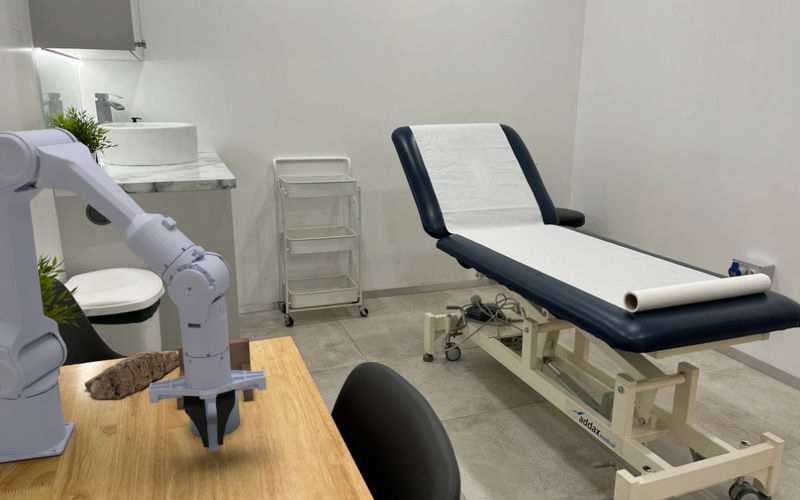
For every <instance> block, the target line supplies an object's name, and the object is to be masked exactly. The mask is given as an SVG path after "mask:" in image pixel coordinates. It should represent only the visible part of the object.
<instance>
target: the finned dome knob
mask: <svg viewBox="0 0 800 500" xmlns="http://www.w3.org/2000/svg"><path fill="white" fill-rule="evenodd" d="M235 398H236V401H235V404H234V407H233V409H232V411H231V413H230V416H229V418H228V421H227V424H226V428H225V432H224V436H225V435H228V434H230V433H232V432H234V431H235V430H236V429H237V428H239V425H240V423H241V418H240V417H241V416H240V402H239V391H235ZM205 405H206V417H207V430H208V439H209V447H208V452H210V453H211V452H218V451H219V449H220V447H219V446H220V445H218V441H217V437H218V422H217V412H216V397H215V398H209V399H205ZM189 421H190V431H191V432H192V434H194V435H195V436H198V437H200V434H199V432H198V430H197V428H196V426H195V424H194V423H193V421H192V420H191V419H190V418H189Z"/></svg>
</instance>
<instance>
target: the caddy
mask: <svg viewBox="0 0 800 500" xmlns="http://www.w3.org/2000/svg"><path fill="white" fill-rule="evenodd" d="M229 353H230V367H231V370H236V371H252V365H251V349H250V338H248V337H247V338H246V337H245V338H238V339H237V338H235V339H229ZM177 354H178V357H179V364H178V366H179V373H178V377H181V376H185V370H184V359H183V347H182V344H178V345H177ZM242 392H243V393H242V394H243V396H242V397H243V402H248V401H254V389H248V390H242ZM183 401H184V400H183V397H180V398H176V403H177V404H176V405H177V410H184V408H183V404H184V402H183Z"/></svg>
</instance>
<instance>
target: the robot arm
mask: <svg viewBox="0 0 800 500" xmlns="http://www.w3.org/2000/svg"><path fill="white" fill-rule="evenodd" d="M44 189H50V190H60V191H69V192H70V191H71V192H73V193H74V194H75V195H77V196H78V197H79V198H80V199H82V200H83V201H84V202H86V203H87V204H88V205H89V206H90V207H92V208H93V209H94V210H95V211H97V212H98V213H100V214H101V215H102V216H103V217H105V218H106V219H107V220H108V221H110V222H111V223H112V224H113V225H115V226H116V227H117V228H119V229H120V230H121V231H123V232H124V235H125V246H126V248H127V249H128V250H129V251H131V253H133V254H134V255H135V256H136V257H137V258H138V259H140V260H141V261H142V262H143V263H144V264H145V265H146V266H148V267H149V269H151V270H152V271H153V272H154V273H155V274H156V275H158V277H160V278H161V279H162V280H163V281H165V283H166V284H168V286H166V290H167V294H168V296H169V298H170V300H171V301H172V303H174V304H175V306H176V307H177V310H178V318H179V322H180V323H179V324H180V336H181V343H182V344H181V345H182V347H183V359H184V370H185V376H181V377H179V376H178V377H173V378H171V379H166V380H162V381H157V382H156V381H155V382H151V383H150V384H149V385H148V399H149V404H157V403H160V401H162V400H163V401H164V400H171V399H177V398H180V397H183V400H184V401H183V402H184V404H183V408H184V409H183V410H184V412H185V414H186V415H187V416H188V417H189V420H190V419H191V420H192V421H193V423H194V424H195V426H196V428H197V430H198V432H199V434H200V436H199V437H200V439H201V442H202V446H203V448H209V439H208V430H207V417H206V405H205V399H209V398H215V397H216V412H217V422H218V437H217V441H218V445H219V446H223V445H224V438H225V435H224V432H225V428H226V424H227V421H228V418H229V416H230V413H231V411H232V409H233V407H234V404H235V401H236V398H235V391H238V392H239V391H243V390H248V389H253V390H256V389H257V391H265V390H267V377H266V371H265V370H251V371H236V370H231V367H230V353H229V340H230V339H229V324H228V322H229V321H228V311H227V298H226V296H227V295H226V294H225V292H226V291H227V290H228V288H229V287H230V285H231V283H232V278H233V277H232V270H231V268H230V266H229V264H228V263H227V261H226V260H225V259H224V258H223V256H222V255H221V254H218V253H216V252H213V251H206V250H205V249H204V248H203V247H202V246H201V245H196V244H195V243H194V242H193V241H191V239H189V237H188V236H186V235H185V234H184V233H183V232H181V230H179V229H178V227H176V226H177V224H178V223H177V221H175V220H174V219H173V218H172V217H171V216H167V217H165V216H164V215H163V214H161V213H148V212H145V210H143V208H142V207H140V206H139V204H138V203H137V202H136V201H135V200H134V199H133V198H132V197H131V196H130V195H128V194H127V192H126V191H125V190H124V189H123V188H122V187H121V186H120V185H119V184H118V183H117V182H116V181H115V180H114V179H113V178H112V177H111V176H110V175H109V174H108V173H107V172H106V171H105V170H104V169H103V168H102V167H101V165H100V164H98V163H97V162H96V161H95V160H94V158H93V156H92V153H91V151H90V149H89V147H88V146H87V145H85V144H84V143H82V142H81V141H79V140H78V139H77V137H76V136H75V135H74V134H72V132H70V131H69V130H67V129H65V128H61V127H55V126H54V127H48V128H44V129H32V130H21V131H20V130H19V131H13V130H12V131H11V130H3V131H0V463H7V462H12V461H21V460H22V461H23V460H28V459H29V460H30V459H36V458H43V457H51V456H57V455H61V454H62V453H63V452H64V450H65V448H66V445H67V443H68V441H69V439H70V437H71V435H72V432H73V430H74V428H75V422H73V421H72V422H71V421H70V422H65V417H64V410H63V404H62V398H61V397H62V396H61V390H60V384H59V383H60V382H59V376H61V369H60V368H61V367H62V366H63V365H64V363H65V362H66V359H67V357H68V349H67V346H66V343H65V342H64V340H63V338H62V336H61V335H60V331H59V327H58V326H59V325H58V322H57V321H55V319H52V318H50V317H48V316H46V315H45V314H44V313H45V312H44V306H43V298H42V291H41V289H42V288H41V284H40V283H41V282H40V275H39V274H40V273H39V267H38V266H39V265H38V259H37V251H36V250H37V249H36V242H35V235H34V228H33V219H32V210H31V201H32V200H33V199H34V198H36V197H37V196H38V195H39V194H40V193H41V192H42V191H43V190H44Z"/></svg>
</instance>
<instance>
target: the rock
mask: <svg viewBox="0 0 800 500" xmlns="http://www.w3.org/2000/svg"><path fill="white" fill-rule="evenodd" d="M177 366H179V357H178V352H177V351H175V350H165V351H161V350H160V351H157V350H148V351H145V350H144V351H140V352H136V353H134V354H132V355H129V356H127V357H126V358H125V359H122V360H120V361H118V362H117V363H115V364H113V365H111V366H109V367H107V368H104V369H103V371H102V372H100V373H99V374H97V375H96V376H93V377H91V378H90V379H89V380H87V381H85V382H84V386H85V388H86V389H87V390H88V391H89V392H90V393H89V394H90V396H91V397H93V398H94V399H96V400H112V399H114V400H120V399H122V398H123V397H124V396H130V395H132V394H133V393H136V392H139V391H141V390H142V389H144V388H145V387H147V386H150V383H153V381H155V380H158V379H161V378H162V377H163V376H164V375H165V374H169V373H171V372H172V371H173V369H175V368H176V367H177Z"/></svg>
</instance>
